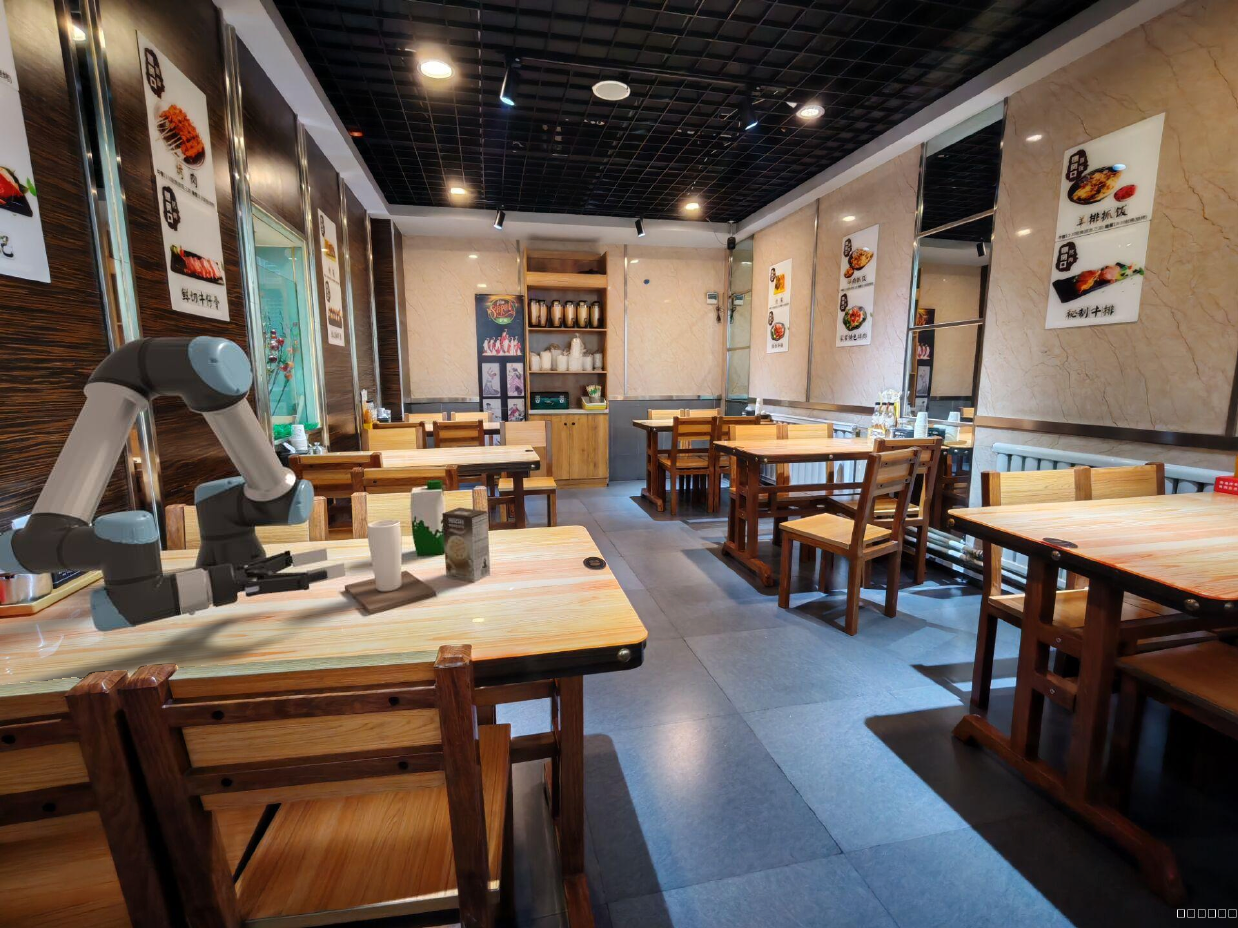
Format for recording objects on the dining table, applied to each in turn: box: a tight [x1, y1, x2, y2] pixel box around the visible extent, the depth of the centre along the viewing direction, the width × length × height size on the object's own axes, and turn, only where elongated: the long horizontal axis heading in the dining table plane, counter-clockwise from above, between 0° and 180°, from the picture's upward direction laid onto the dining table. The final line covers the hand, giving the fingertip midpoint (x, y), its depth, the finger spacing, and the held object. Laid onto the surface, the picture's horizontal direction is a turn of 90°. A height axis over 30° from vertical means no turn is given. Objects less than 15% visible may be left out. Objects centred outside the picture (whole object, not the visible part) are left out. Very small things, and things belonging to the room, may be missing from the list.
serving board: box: [344, 570, 437, 615], centre depth 121 cm, size 18×14×1 cm
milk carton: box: [409, 479, 447, 558], centre depth 149 cm, size 9×9×20 cm
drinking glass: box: [367, 519, 403, 592], centre depth 120 cm, size 7×7×15 cm
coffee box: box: [442, 507, 491, 583], centre depth 130 cm, size 9×6×16 cm
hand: (335, 560), depth 113 cm, fingers open, 13 cm apart
